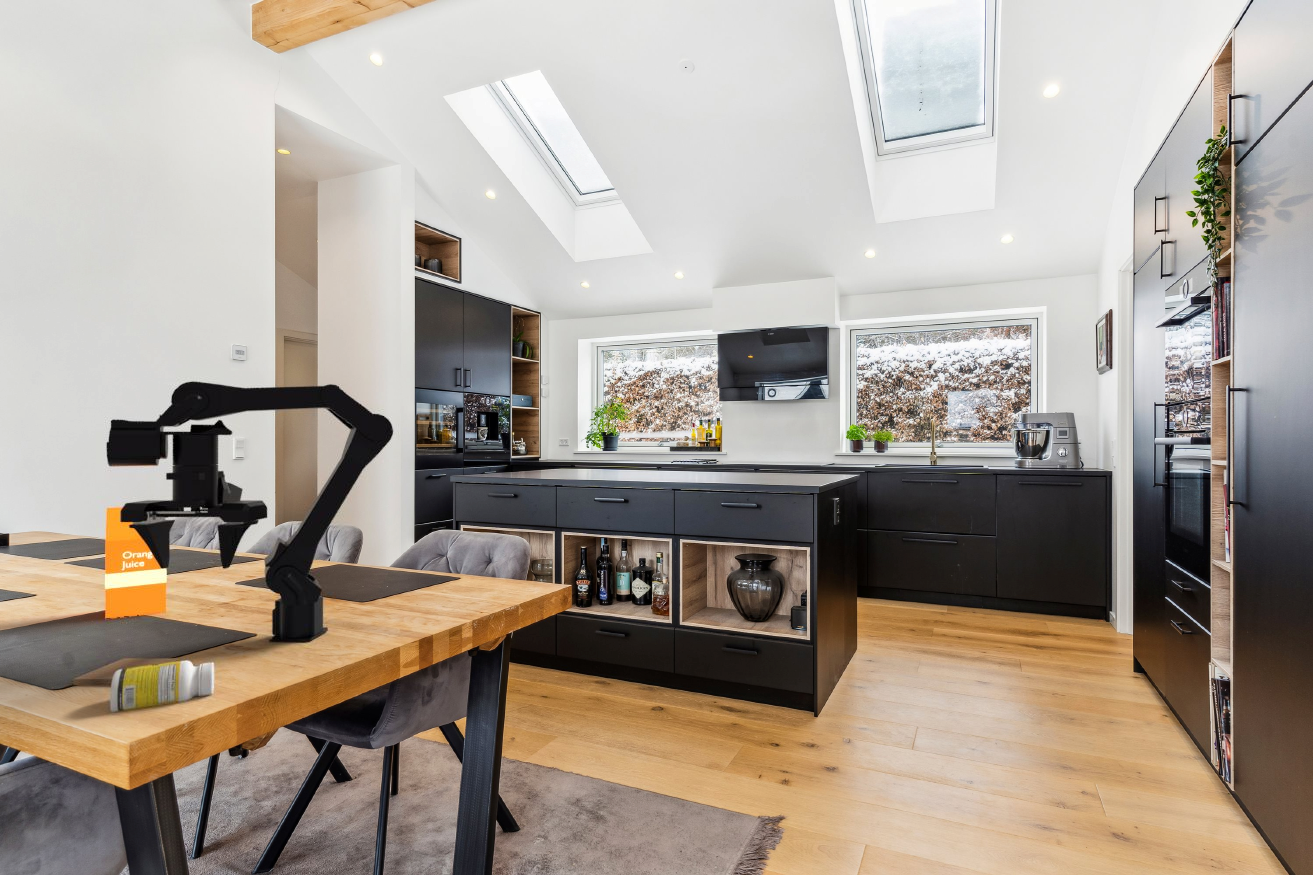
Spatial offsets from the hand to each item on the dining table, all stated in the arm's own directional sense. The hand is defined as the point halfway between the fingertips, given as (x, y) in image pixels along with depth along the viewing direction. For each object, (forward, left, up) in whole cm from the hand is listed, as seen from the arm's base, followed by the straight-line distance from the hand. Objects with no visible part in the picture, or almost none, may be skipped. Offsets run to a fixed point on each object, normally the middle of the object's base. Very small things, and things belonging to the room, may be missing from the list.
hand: (195, 568), depth 101 cm
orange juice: (+26, -23, -13) cm, 37 cm away
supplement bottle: (-5, +23, -10) cm, 26 cm away
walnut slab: (+1, +12, -14) cm, 18 cm away
